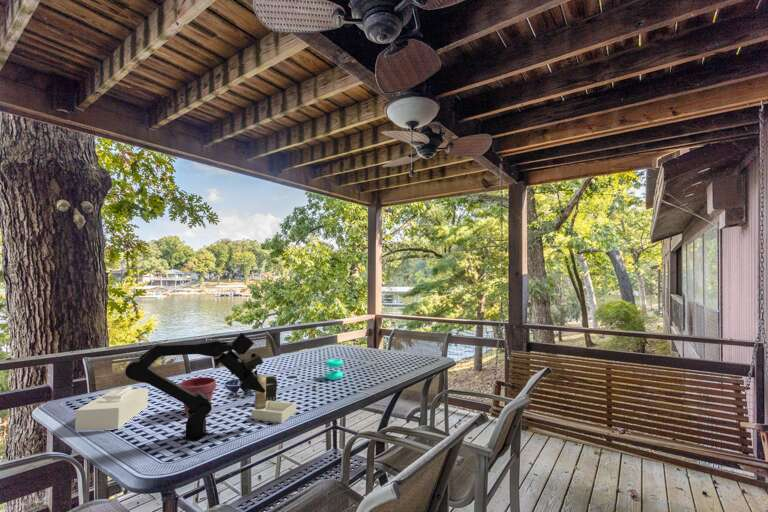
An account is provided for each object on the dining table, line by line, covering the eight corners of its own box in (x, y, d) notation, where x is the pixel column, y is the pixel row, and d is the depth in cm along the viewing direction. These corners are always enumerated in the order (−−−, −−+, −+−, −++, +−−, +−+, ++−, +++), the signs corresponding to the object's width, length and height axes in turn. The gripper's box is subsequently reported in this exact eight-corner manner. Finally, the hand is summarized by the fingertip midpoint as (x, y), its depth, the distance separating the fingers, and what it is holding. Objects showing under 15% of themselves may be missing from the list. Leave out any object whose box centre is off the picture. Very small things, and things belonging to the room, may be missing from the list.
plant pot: (200, 419, 151) (201, 387, 152) (170, 416, 154) (171, 385, 155) (222, 406, 165) (222, 377, 166) (194, 404, 168) (194, 376, 169)
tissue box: (74, 433, 138) (76, 404, 138) (111, 410, 162) (112, 384, 163) (118, 431, 140) (119, 401, 141) (147, 407, 165) (148, 383, 166)
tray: (281, 423, 147) (281, 412, 147) (251, 419, 151) (251, 409, 151) (295, 412, 158) (296, 403, 158) (267, 409, 162) (267, 400, 162)
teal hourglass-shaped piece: (343, 362, 208) (325, 362, 207) (343, 380, 207) (325, 380, 206) (343, 358, 218) (326, 358, 217) (343, 375, 217) (326, 376, 216)
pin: (261, 410, 142) (262, 378, 143) (252, 409, 143) (253, 377, 144) (267, 406, 146) (268, 375, 146) (258, 405, 147) (259, 374, 147)
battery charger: (261, 404, 169) (261, 378, 169) (260, 401, 172) (261, 376, 173) (277, 402, 172) (277, 377, 172) (276, 399, 175) (276, 375, 176)
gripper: (250, 352, 136) (281, 380, 139) (250, 343, 153) (277, 368, 156) (226, 376, 132) (259, 404, 136) (229, 364, 150) (257, 389, 153)
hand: (264, 390), depth 145 cm, fingers closed on pin, 4 cm apart
